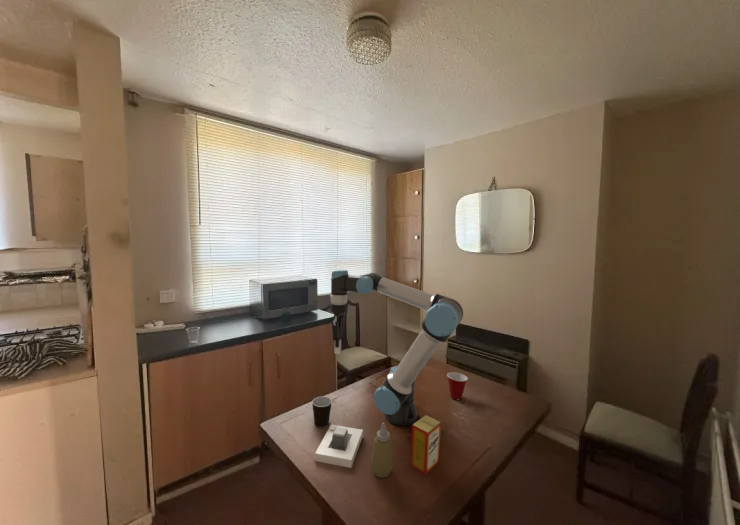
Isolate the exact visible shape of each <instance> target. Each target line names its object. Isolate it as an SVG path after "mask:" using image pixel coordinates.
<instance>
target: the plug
mask: <svg viewBox="0 0 740 525" xmlns="http://www.w3.org/2000/svg"><path fill="white" fill-rule="evenodd" d="M347 445H348V430H347V429H346V428H340V427H336V429H335V431H334V433H333V435H332V449H338V450H343V451H345V449H346V447H347Z"/></svg>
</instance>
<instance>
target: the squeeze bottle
mask: <svg viewBox="0 0 740 525" xmlns="http://www.w3.org/2000/svg"><path fill="white" fill-rule="evenodd" d="M386 426H387V425H386V423H385V422H382V423H381V426H380V429H379V430H377V431H376V436H375V437H374V438H373V442H372V444H373V445H372V450H371V451H372V454H371V459H370V464H371V467H372V471H373V473H374V475H375V476H376V477H378V478H383V479H384V478H387V477H388V476H389V475H390V474H391V471H392V469H393V466H394V453H393V452H394V450H393V440H392V437H390V436H391V435H390V431H388V430H387V427H386Z"/></svg>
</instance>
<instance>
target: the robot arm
mask: <svg viewBox="0 0 740 525" xmlns="http://www.w3.org/2000/svg"><path fill="white" fill-rule="evenodd" d="M330 278H331V279H330V282H331V283H330V284H331V286H330V295H329V298H330V302H331V303H330V312H331V313H333V316H332V319H333V320H331V328H332V340H333V341H334V350H333V351H334V354H336V355H340V354H342V340H343V339H344V337H343V336H344V324H345V318H346V315H344V314H346V313H347V311H348V304H347V303H348V293H355V294H361V295H363V294H364V295H365V294H366V295H367V294H368V295H369V294H370V293H371V292H373V291H374V292H377V293H379V294H382V295H385V296H388V297H389V298H392V299H395V300H397V301H400V302H403V303H406V304H408V305H411V306H413V307H416V308H419V309H421V310H424V311H426V313H425V316H424V319H423V320H422V322H421V323H420V328H421V330H420V332H419V333H418V335H417V337H416V338H415V340H414V341H413V343H412V344H411V345H410V347H409V349H408V351H407V352H406V353H405V355H404V356H403V357H402V360H401V361H400V362H399V364H398V365H396V366H392V367H390V371H389V373H388V374H387V376H386V377H385V378H384V380H383V382H382V383H381V384H380V386H379V387H377V388H376V390H375V392H374V394H373V402H374V404H375V406H376V407H377V408H378V409H377V410H379V411H380V412H381V413H383V414H384V417H385V419H386V420H387V421H388V422H389V423H391V424H393V425H395V426H410V425H413V424H414V423H416V422H417V421H418V411H417V407H416V404H415V388H416V386H415V385H416V379H417V377H418V376H419V374H420V373H421V371H423V368H424V367H425V366H426V364H427V363H428V361H429V360H430V359H431V357H432V355H433V354H434V352H435V351H436V350H437V348H438V347H439V345H440V344H441V343H442V344H444V343H447V341H448V340H449V338H450V337H451V335H452V334H453V333H454V332H455V330H456V329H457V327H458V325H459V324H460V323H461V322H462V320H463V319H464V318H463V317H464V309H463V307H462V305H461V303H460V302H459V301H458V300H456V299H454V298H451V297H448V296H445V295H442V294H439V293H434V294H432V293H429V292H426V291H424V290H420V289H418V288H414V287H412V286H410V285H406V284H403V283H401V282H397V281H395V280H392V279H389V278H387V277H384V276H382V275H381V274H380V273H378V272H371V273H370V272H369V273H367V274H361V275H353V274H349V271H348V270H347V269H341V268H339V269H333V270H332V271H331V277H330Z"/></svg>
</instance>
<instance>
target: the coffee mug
mask: <svg viewBox="0 0 740 525" xmlns="http://www.w3.org/2000/svg"><path fill="white" fill-rule="evenodd" d="M332 402H333V401H332V399H331V397H328V396H324V395H323V396H317V397H315V398H313V399H312V401H311V403H312V404H311V405H312V412H313V413H312V414H313V423H314V426H315V427H317V428H325V427H327V426H328V425H329V423H330V416H331V410H332V404H333V403H332Z"/></svg>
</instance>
